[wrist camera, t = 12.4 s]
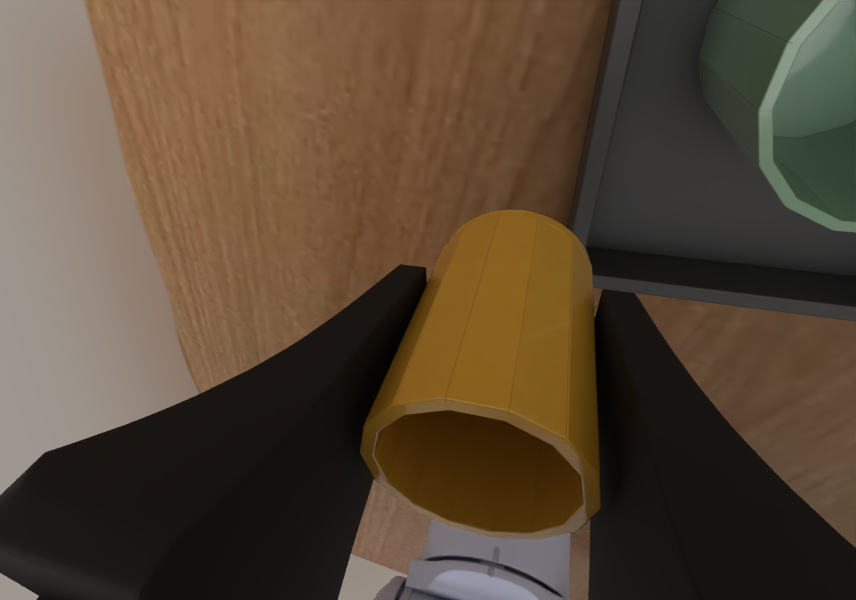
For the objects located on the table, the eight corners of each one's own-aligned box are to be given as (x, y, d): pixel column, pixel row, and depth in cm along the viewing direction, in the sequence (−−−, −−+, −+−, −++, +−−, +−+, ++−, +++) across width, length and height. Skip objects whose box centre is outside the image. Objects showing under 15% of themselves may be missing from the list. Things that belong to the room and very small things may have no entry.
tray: (875, 286, 16) (912, 329, 14) (563, 251, 19) (561, 283, 17) (1606, -659, 6) (2046, -918, 4) (701, -461, 8) (735, -571, 7)
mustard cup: (578, 342, 12) (578, 560, 7) (440, 320, 12) (372, 507, 8) (610, 217, 9) (633, 434, 5) (438, 201, 10) (341, 378, 6)
